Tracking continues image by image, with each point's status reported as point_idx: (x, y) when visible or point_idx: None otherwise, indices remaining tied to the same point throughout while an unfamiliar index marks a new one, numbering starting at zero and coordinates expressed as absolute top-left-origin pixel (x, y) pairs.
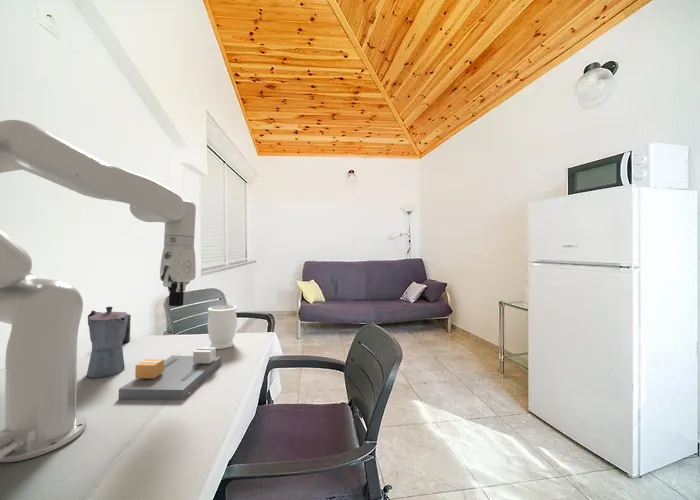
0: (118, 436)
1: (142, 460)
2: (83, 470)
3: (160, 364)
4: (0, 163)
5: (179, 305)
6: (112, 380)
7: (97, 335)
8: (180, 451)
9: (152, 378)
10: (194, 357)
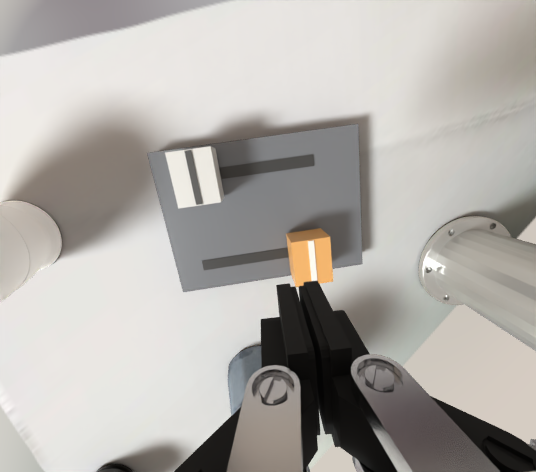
0: (461, 156)
1: (523, 62)
2: (531, 138)
3: (304, 238)
4: None
5: (316, 282)
6: None
7: None
8: (511, 5)
9: None
10: (222, 195)
